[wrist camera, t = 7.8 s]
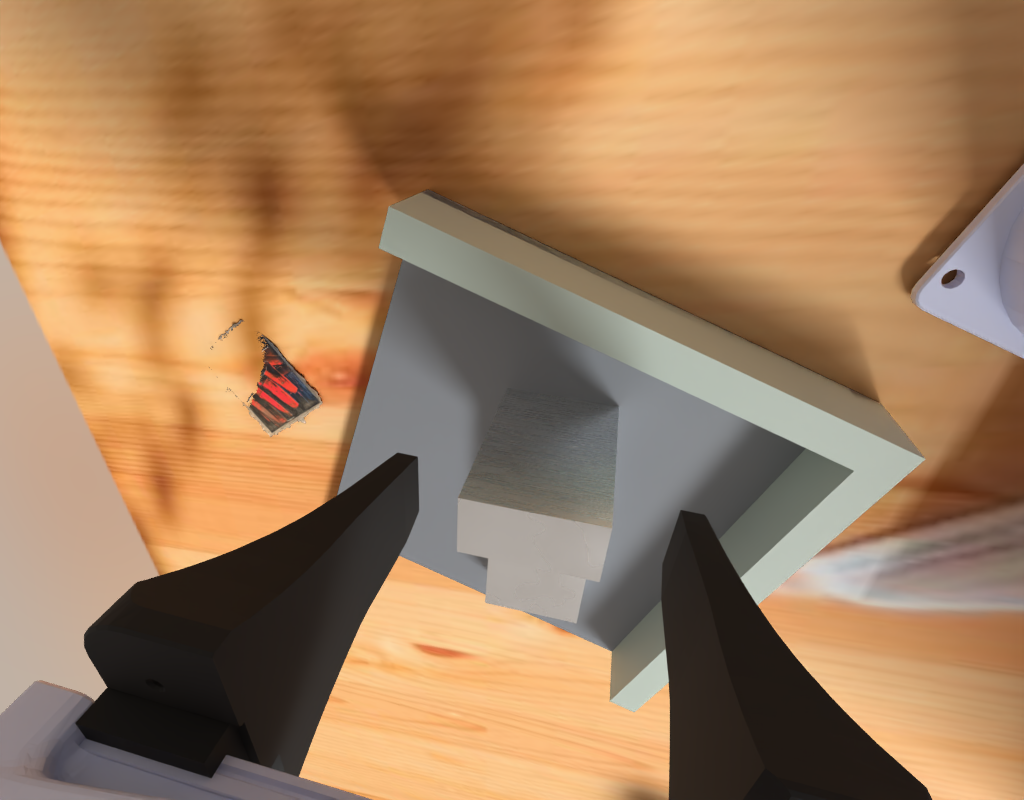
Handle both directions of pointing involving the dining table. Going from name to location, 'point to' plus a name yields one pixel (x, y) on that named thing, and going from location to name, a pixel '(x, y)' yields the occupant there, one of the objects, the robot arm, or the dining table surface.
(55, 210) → the dining table surface
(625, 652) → the corner tray
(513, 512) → the brushed metal block
